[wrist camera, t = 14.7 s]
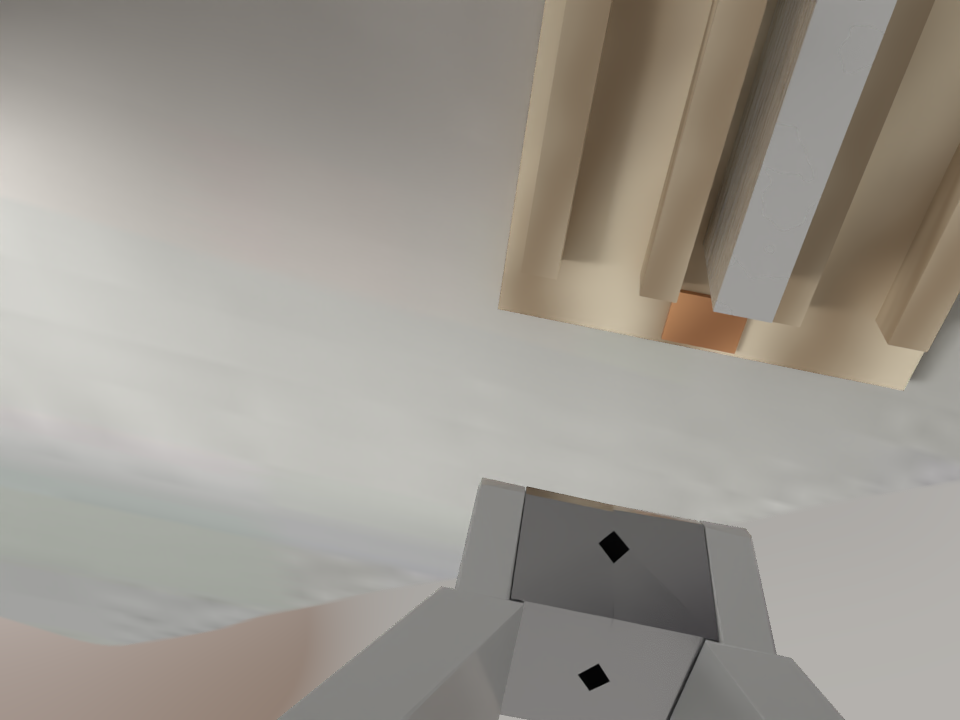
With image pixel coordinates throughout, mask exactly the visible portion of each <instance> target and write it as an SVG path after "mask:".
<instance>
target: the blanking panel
mask: <svg viewBox="0 0 960 720" xmlns="http://www.w3.org/2000/svg"><path fill="white" fill-rule="evenodd" d="M896 2H897V0H778V2H777V5H776V8H775V11H774V15H773V18H772V21H771V24H770V27H769V31H768V34H767V37H766V40H765V44H764V47H763V50H762V53H761V57H760V60H759V63H758V66H757V70H756V73H755V76H754V79H753V83H752V86H751V89H750V92H749V95H748V99H747V102H746V105H745V108H744V112H743V115H742V118H741V121H740V125H739V128H738V131H737V134H736V138H735V141H734V144H733V147H732V151H731V154H730V157H729V160H728V164H727V167H726V170H725V173H724V176H723V180H722V183H721V186H720V189H719V193H718V196H717V199H716V202H715V206H714V209H713V212H712V215H711V219H710V222H709V225H708V228H707V232H706V235H705V238H704V241H703V247H704V254H705V261H706V267H707V274H708V281H709V287H710V294H711V301H712V308H713V312H718V313H723V314H728V315H733V316H739V317H744V318H749V319H754V320H759V321H764V322H769V323H772V322H773V319H774V316H775V314H776V311H777V309H778V306H779V304H780V301H781V298H782V296H783V293H784V291H785V288H786V286H787V283H788V280H789V278H790V275H791V273H792V270H793V268H794V265H795V262H796V260H797V257H798V255H799V252H800V250H801V247H802V244H803V242H804V239H805V237H806V234H807V231H808V229H809V226H810V224H811V221H812V219H813V216H814V213H815V211H816V208H817V206H818V203H819V201H820V198H821V195H822V193H823V190H824V188H825V185H826V183H827V180H828V177H829V175H830V172H831V170H832V167H833V165H834V162H835V159H836V157H837V154H838V152H839V149H840V147H841V144H842V141H843V139H844V136H845V134H846V131H847V128H848V126H849V123H850V121H851V118H852V116H853V113H854V110H855V108H856V105H857V103H858V100H859V98H860V95H861V92H862V90H863V87H864V85H865V82H866V80H867V77H868V74H869V72H870V69H871V67H872V64H873V62H874V59H875V56H876V54H877V51H878V49H879V46H880V43H881V41H882V38H883V36H884V33H885V31H886V28H887V25H888V23H889V20H890V18H891V15H892V13H893V10H894V7H895V5H896Z"/></svg>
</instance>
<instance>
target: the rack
mask: <svg viewBox="0 0 960 720" xmlns="http://www.w3.org/2000/svg"><path fill="white" fill-rule="evenodd" d="M777 2H778V0H545V5H544V12H543V18H542V25H541V31H540V38H539V44H538V51H537V57H536V64H535V70H534V77H533V83H532V90H531V96H530V103H529V110H528V116H527V123H526V129H525V136H524V142H523V149H522V155H521V162H520V168H519V175H518V181H517V188H516V194H515V201H514V207H513V214H512V220H511V227H510V233H509V240H508V246H507V253H506V259H505V266H504V273H503V279H502V286H501V292H500V299H499V305H498V309H500V310H505V311H510V312H515V313H520V314H525V315H530V316H535V317H540V318H545V319H550V320H555V321H560V322H565V323H570V324H575V325H580V326H585V327H590V328H595V329H600V330H605V331H610V332H615V333H620V334H624V335H629V336H634V337H639V338H644V339H649V340H654V341H659V342H664V343H669V344H674V345H679V346H684V347H689V348H694V349H699V350H704V351H709V352H714V353H719V354H724V355H729V356H734V357H739V358H744V359H749V360H754V361H759V362H764V363H769V364H774V365H778V366H783V367H788V368H793V369H798V370H803V371H808V372H813V373H818V374H823V375H828V376H833V377H838V378H843V379H848V380H853V381H858V382H863V383H868V384H873V385H878V386H883V387H888V388H893V389H898V390H903V391H904V389H905V387H906V385H907V384H908V382H909V380H910V378H911V376H912V374H913V372H914V370H915V369H916V367H917V365H918V363H919V361H920V359H921V357H922V355H923V353H924V352H928V350H929V348H930V346H931V345H932V343H933V341H934V339H935V337H936V335H937V333H938V331H939V330H940V328H941V326H942V324H943V322H944V320H945V318H946V316H947V315H948V313H949V311H950V309H951V307H952V305H953V303H954V301H955V300H956V298H957V296H958V294H959V292H960V0H897V2H896V5H895V7H894V10H893V13H892V15H891V18H890V20H889V23H888V25H887V28H886V31H885V33H884V36H883V38H882V41H881V43H880V46H879V49H878V51H877V54H876V56H875V59H874V62H873V64H872V67H871V69H870V72H869V74H868V77H867V80H866V82H865V85H864V87H863V90H862V92H861V95H860V98H859V100H858V103H857V105H856V108H855V110H854V113H853V116H852V118H851V121H850V123H849V126H848V128H847V131H846V134H845V136H844V139H843V141H842V144H841V147H840V149H839V152H838V154H837V157H836V159H835V162H834V165H833V167H832V170H831V172H830V175H829V177H828V180H827V183H826V185H825V188H824V190H823V193H822V195H821V198H820V201H819V203H818V206H817V208H816V211H815V213H814V216H813V219H812V221H811V224H810V226H809V229H808V231H807V234H806V237H805V239H804V242H803V244H802V247H801V250H800V252H799V255H798V257H797V260H796V262H795V265H794V268H793V270H792V273H791V275H790V278H789V280H788V283H787V286H786V288H785V291H784V293H783V296H782V298H781V301H780V304H779V306H778V309H777V311H776V314H775V316H774V319H773V322H772V323H769V322H764V321H759V320H754V319H749V318H744V317H739V316H733V315H728V314H723V313H718V312H713V308H712V301H711V294H710V287H709V281H708V274H707V267H706V261H705V254H704V247H703V241H704V238H705V235H706V232H707V228H708V225H709V222H710V219H711V215H712V212H713V209H714V206H715V202H716V199H717V196H718V193H719V189H720V186H721V183H722V180H723V176H724V173H725V170H726V167H727V164H728V160H729V157H730V154H731V151H732V147H733V144H734V141H735V138H736V134H737V131H738V128H739V125H740V121H741V118H742V115H743V112H744V108H745V105H746V102H747V99H748V95H749V92H750V89H751V86H752V83H753V79H754V76H755V73H756V70H757V66H758V63H759V60H760V57H761V53H762V50H763V47H764V44H765V40H766V37H767V34H768V31H769V27H770V24H771V21H772V18H773V15H774V11H775V8H776V5H777Z"/></svg>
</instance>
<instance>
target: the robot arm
mask: <svg viewBox="0 0 960 720" xmlns="http://www.w3.org/2000/svg"><path fill="white" fill-rule="evenodd" d="M500 714H501V715H506V716H512V717H517V718H522V719H528V720H845V719H844V718H843V717H842V716H841V715H840V713H838V711H837V710H836V709H835V708H834V707H833V705H832V704H831V703H830V702H829V701H828V700H827V698H826V697H825V696H824V695H823V694H822V693H821V692H820V690H819V689H818V688H817V687H816V686H815V685H814V684H813V682H812V681H811V680H810V679H809V678H808V677H807V675H806V674H805V673H804V672H803V671H802V670H801V668H800V667H799V666H798V665H797V664H796V663H795V662H794V660H793V659H792V658H789V657H784V656H780V655H777V654H776V650H775V644H774V640H773V635H772V630H771V626H770V622H769V616H768V612H767V607H766V603H765V598H764V593H763V589H762V584H761V579H760V574H759V570H758V565H757V560H756V556H755V551H754V546H753V542H752V537H751V535H750V534H749V532H748V531H747V530H746V529H744V528H739V527H733V526H728V525H722V524H716V523H711V522H705V521H700V522H698V521H696V520H691V519H685V518H680V517H675V516H669V515H664V514H659V513H653V512H648V511H643V510H637V509H632V508H626V507H621V506H616V505H610V504H605V503H600V502H596V501H591V500H587V499H582V498H578V497H573V496H568V495H564V494H559V493H555V492H550V491H545V490H541V489H536V488H532V487H526V491H525V487H523V486H518V485H514V484H509V483H505V482H500V481H496V480H491V479H487V478H482V480H481V482H480V484H479V486H478V490H477V495H476V499H475V503H474V508H473V512H472V516H471V521H470V525H469V529H468V534H467V538H466V542H465V547H464V551H463V555H462V560H461V564H460V568H459V573H458V577H457V581H456V586H455V589H453V588H447V587H442V586H441V587H440V588H439V589H437V590H436V591H435V592H434V593H432V594H431V595H430V596H429V597H428V598H426V599H425V600H424V601H423V602H422V603H420V604H419V605H418V606H417V607H415V608H414V609H413V610H412V611H410V612H409V613H408V614H407V615H405V616H404V617H403V618H402V619H401V620H399V621H398V622H397V623H395V625H393V626H392V627H391V628H389V629H388V630H387V631H386V632H384V633H383V634H382V635H381V636H379V637H378V638H377V639H376V640H375V641H373V642H372V643H371V644H370V645H368V646H367V647H366V648H365V649H363V650H362V651H361V652H360V653H358V654H357V655H356V656H355V657H354V658H353V659H351V660H350V661H349V662H347V663H346V664H345V665H344V666H342V667H341V668H340V669H339V670H337V671H336V672H335V673H334V674H333V675H331V676H330V677H329V678H328V679H326V680H325V681H324V682H323V683H322V684H320V685H319V686H318V687H317V688H315V689H314V690H313V691H312V692H310V693H309V694H308V695H307V696H306V697H304V698H303V699H302V700H300V701H299V702H298V703H297V704H296V705H294V706H293V707H292V708H291V709H289V710H288V711H287V712H286V713H285V714H283V715H282V716H281V717H279V718H278V719H277V720H498V719H499V715H500Z"/></svg>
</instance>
